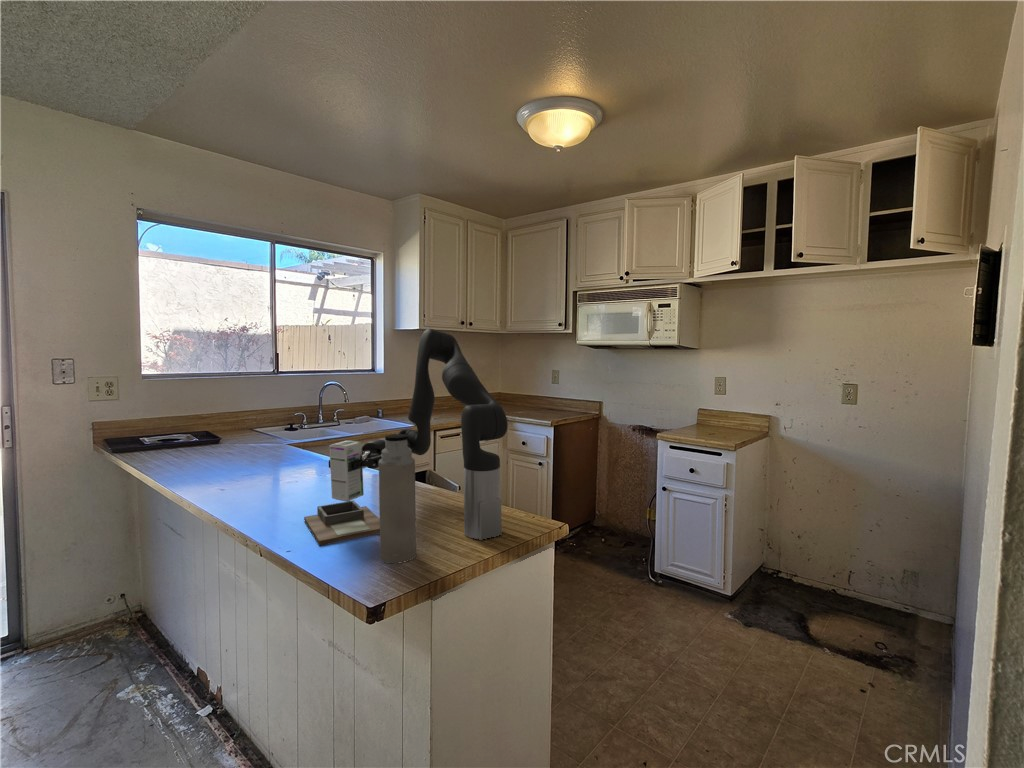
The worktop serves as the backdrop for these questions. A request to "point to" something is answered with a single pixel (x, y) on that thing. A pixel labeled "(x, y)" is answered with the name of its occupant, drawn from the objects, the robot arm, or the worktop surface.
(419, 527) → the worktop surface
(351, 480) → the syrup box
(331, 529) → the board
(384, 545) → the thermos bottle
